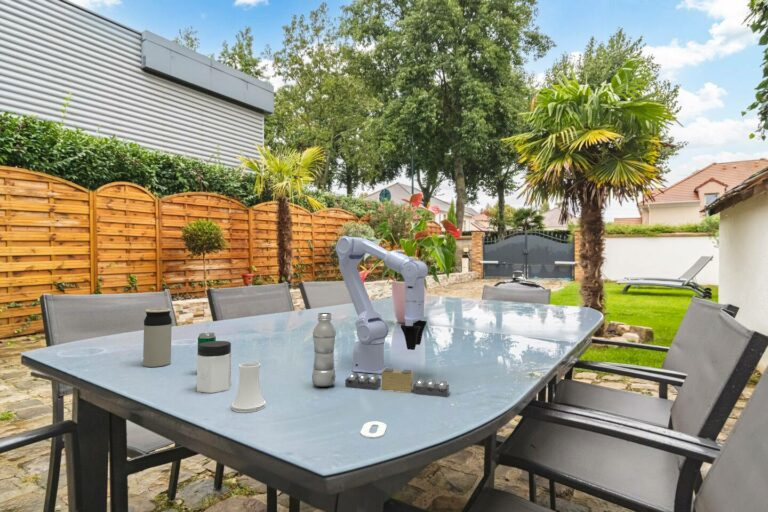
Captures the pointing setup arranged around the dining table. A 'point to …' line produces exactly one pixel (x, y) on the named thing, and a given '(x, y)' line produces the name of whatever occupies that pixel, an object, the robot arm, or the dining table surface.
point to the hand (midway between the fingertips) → (413, 346)
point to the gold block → (397, 380)
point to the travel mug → (157, 337)
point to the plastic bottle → (324, 351)
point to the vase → (248, 389)
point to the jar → (214, 366)
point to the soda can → (206, 338)
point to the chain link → (367, 427)
